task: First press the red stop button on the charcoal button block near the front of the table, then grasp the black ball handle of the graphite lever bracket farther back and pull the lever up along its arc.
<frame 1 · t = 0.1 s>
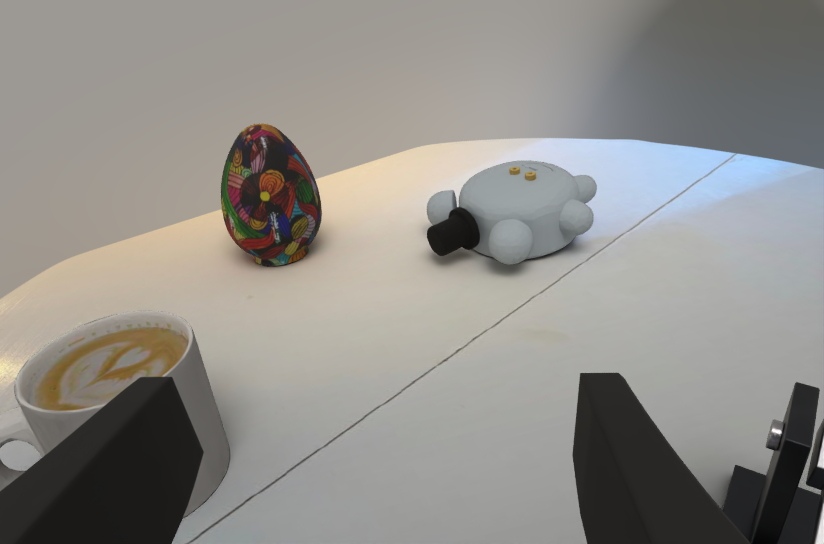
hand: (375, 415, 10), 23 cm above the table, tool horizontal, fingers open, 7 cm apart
figurine: (507, 242, 67), on the table
egg: (282, 255, 68), on the table
coffee mug: (129, 482, 40), on the table
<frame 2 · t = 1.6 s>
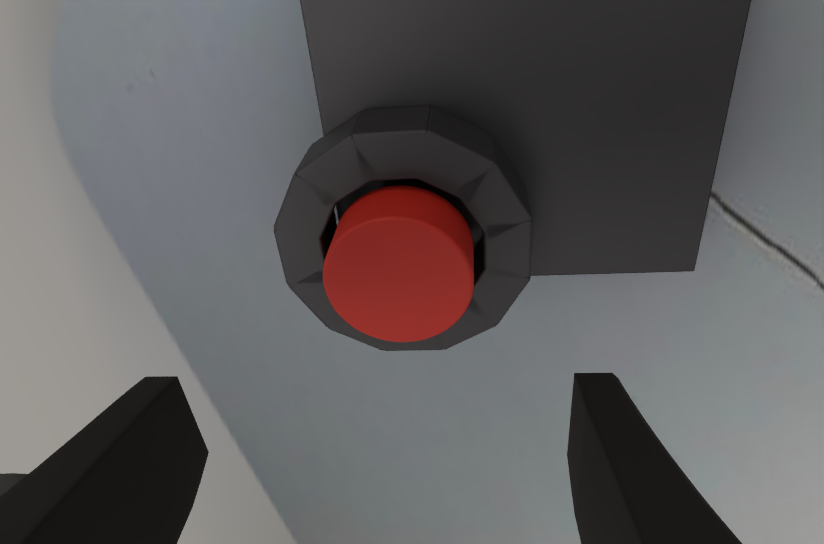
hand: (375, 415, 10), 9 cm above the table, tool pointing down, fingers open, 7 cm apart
button block: (513, 107, 16), on the table
button: (400, 265, 15), point 4 cm above the table, slide at 0.1 cm
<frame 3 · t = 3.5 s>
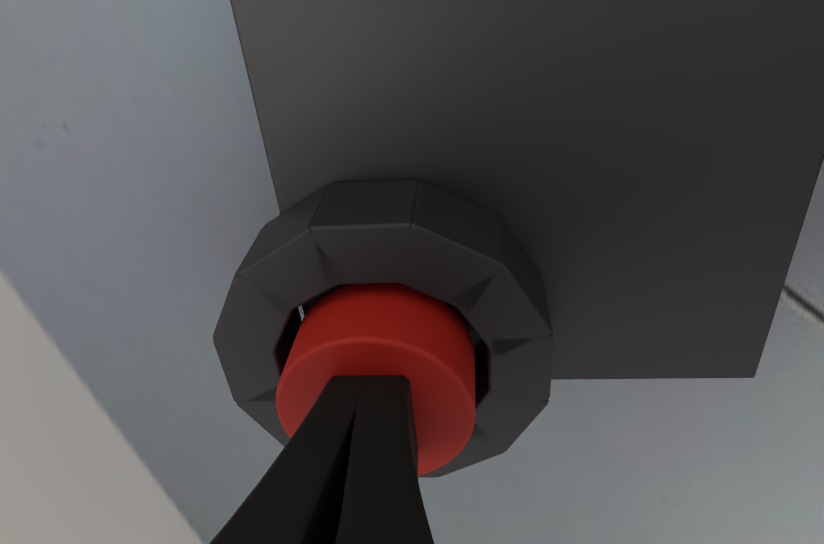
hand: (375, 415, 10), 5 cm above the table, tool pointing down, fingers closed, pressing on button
button block: (525, 171, 13), on the table
button: (380, 382, 11), point 4 cm above the table, slide at -0.1 cm, touching gripper
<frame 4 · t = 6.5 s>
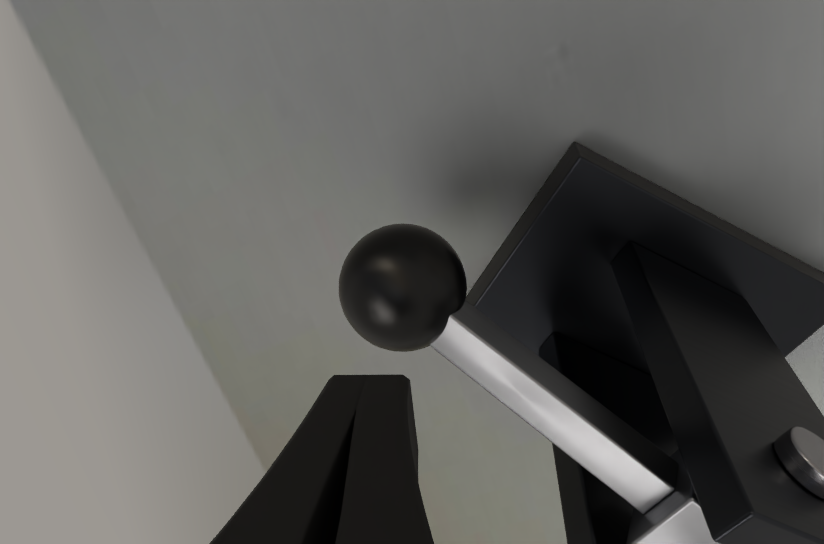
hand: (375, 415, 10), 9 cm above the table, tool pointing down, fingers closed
bracket: (628, 303, 20), on the table
lever: (546, 399, 14), point 7 cm above the table, hinge at -25.0°
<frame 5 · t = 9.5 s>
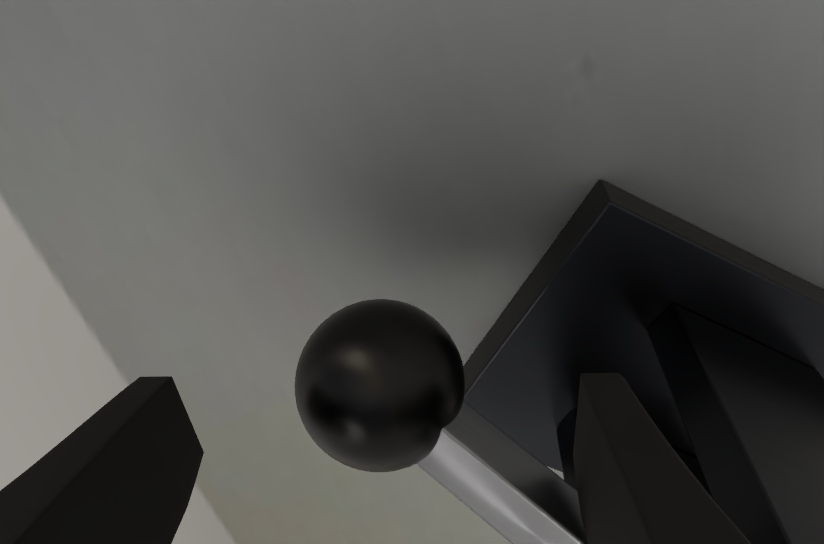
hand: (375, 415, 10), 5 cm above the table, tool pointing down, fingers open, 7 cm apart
bracket: (665, 369, 16), on the table
lever: (574, 540, 10), point 7 cm above the table, hinge at -25.3°, touching gripper
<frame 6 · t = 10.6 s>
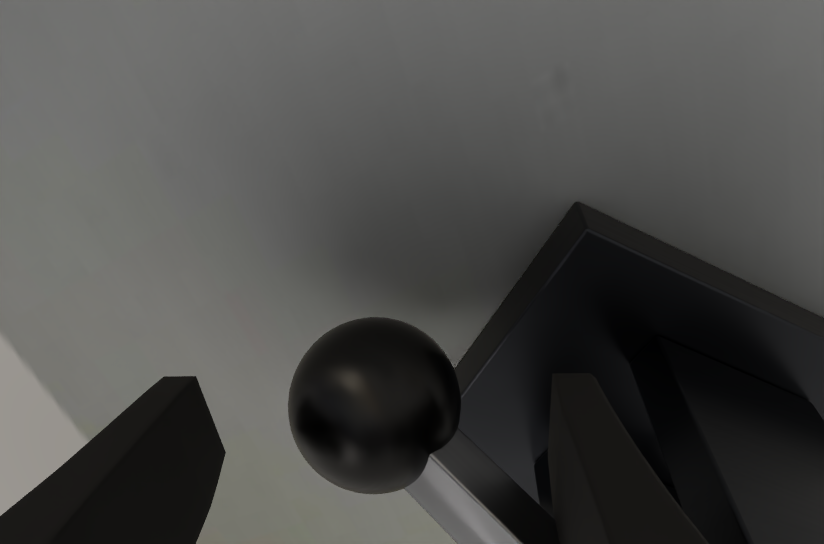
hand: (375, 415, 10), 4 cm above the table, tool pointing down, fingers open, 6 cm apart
bracket: (649, 398, 15), on the table
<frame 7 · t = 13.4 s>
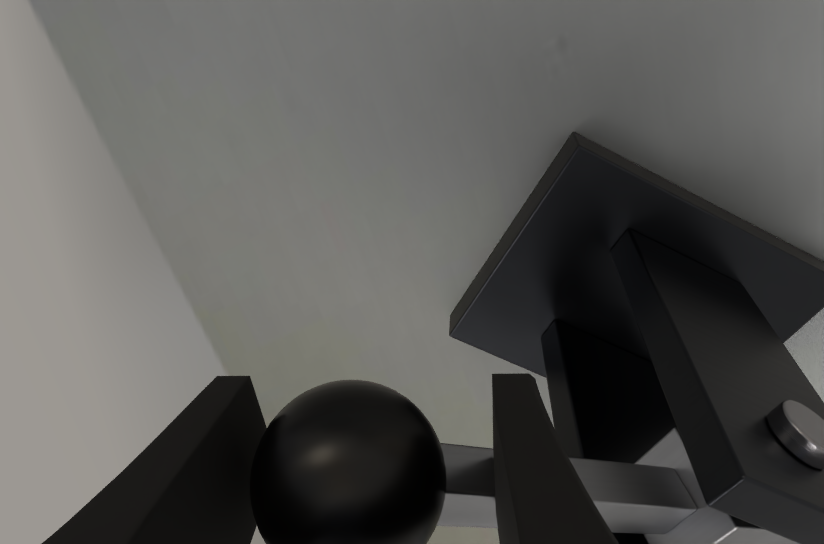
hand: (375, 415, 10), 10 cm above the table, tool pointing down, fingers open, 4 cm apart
bracket: (628, 291, 21), on the table
lever: (556, 492, 12), point 10 cm above the table, hinge at 17.8°, touching gripper
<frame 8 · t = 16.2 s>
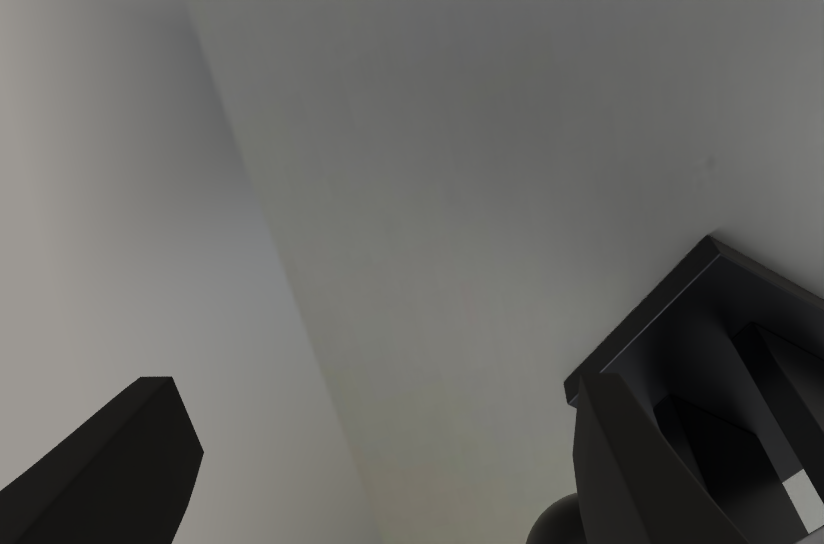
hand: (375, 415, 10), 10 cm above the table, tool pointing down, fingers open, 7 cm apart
bracket: (733, 369, 23), on the table
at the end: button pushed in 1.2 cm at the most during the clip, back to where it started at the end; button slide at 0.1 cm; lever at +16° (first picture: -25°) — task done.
